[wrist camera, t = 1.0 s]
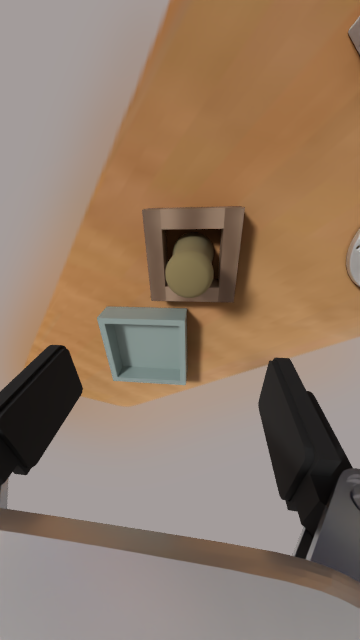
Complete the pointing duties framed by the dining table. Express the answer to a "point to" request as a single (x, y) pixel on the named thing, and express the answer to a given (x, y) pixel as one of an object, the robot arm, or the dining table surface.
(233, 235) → the socket
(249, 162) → the dining table surface
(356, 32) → the coffee box
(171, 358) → the tray
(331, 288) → the dining table surface
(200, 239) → the cork
